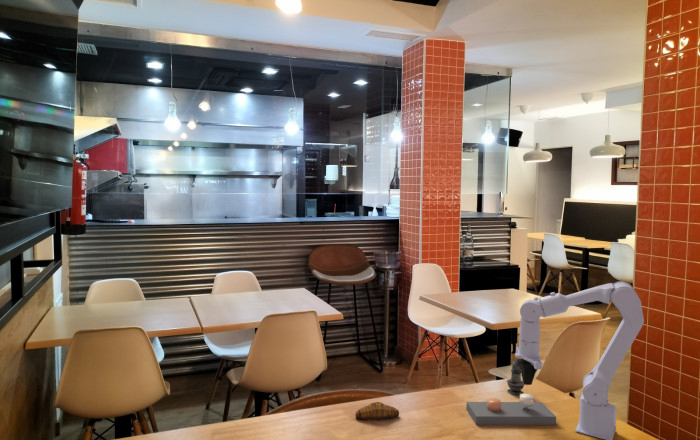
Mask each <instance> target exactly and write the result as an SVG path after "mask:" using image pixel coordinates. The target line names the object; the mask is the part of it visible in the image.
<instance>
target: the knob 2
mask: <svg viewBox="0 0 700 440" xmlns="http://www.w3.org/2000/svg"><path fill="white" fill-rule="evenodd" d="M534 399H535V397H534V395H532V394H531V393H524V394H520V396H519V402H520V404H521V405H523V406H525V410H528V407H532V406H533V405H534V402H535V400H534Z"/></svg>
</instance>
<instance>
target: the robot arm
mask: <svg viewBox="0 0 700 440" xmlns="http://www.w3.org/2000/svg"><path fill="white" fill-rule="evenodd" d="M596 301H597V302H601V303H604V304H608V305H610V301H611V302H612V304H613V305H614V306H615V308H617V310H619V313H620V314H621V317H622V320H621V322H620V323H619V325H618V327H617V328H616V330H615V332H614V334H613V336H612V337H611V339H610V341H609V343H608V345H607V346H606V348H605V349H604V351H603V354H602V355H601V357H600V359H599V360H598V362H597V364H596V365H594V367H593V368H592V370H591V371H590V372H588V373H587V374H585V375H584V377H583V378H582V387H583V388H582V394H581V395H580V399H579V400H580V401H579V417H578V423H577V425H576V427H575V429H574V431H575V432H576V433H581V434H583V435H587V436H591V437H593V438H599V439H602V440H613V439H614V436H615V433H616V431H617V405H615V404H612V403H610V402H609V400H608V398H609V389H610V387H611V385H612V381H613V377H614V376H615V374H616V373H617V370H618V368H620V365H621V364H622V362H623V360H624V358H625V357H626V355H627V353H628V351H629V350H630V348H631V347H632V345H633V342H634V341H635V340H636V337H637V336H638V335H639V332H640V331H641V329H642V327H643V325H644V323H645V318H644V313H643V307H642V300H641V299H640V297H639V295H638V294H637V292H636V291H635V288H634V287H633V286H632V284H630V283H628V282H627V281H616V282H614V283H612V282H610V283H605V284H600V285H596V286H594V287H591V288H587V289H584V290H580V291H578V292H574V293H570V294H568V295H564V294H561V292H558V293H556V292H555V291H553V292H552V291H551V292H550V293H549V295H545V296H543V297H533V299H527V300H525V301H524V302H523V303H522V304H521V306H520V309H519V314H520V323H519V338H518V339H519V340H518V341H519V343H518V345H519V346H516V351H515V353H514V356H515V357H516V358H517V362H518V364H519V366H520V370H521V380H522V381H523V383H524V384H525V385H524V386H531V385H532V384H533V381H534V379H535V375H536V373H537V371H538V370H542V369H543V362H542V361H541V357H540V338H541V337H540V334H541V325H540V320H541V318H547V317H551V316H555V315H558V314H562V313H566V312H567V311H568V309H569V307H573V306H577V305H582V304H588V303H593V302H596Z"/></svg>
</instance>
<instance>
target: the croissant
mask: <svg viewBox="0 0 700 440" xmlns="http://www.w3.org/2000/svg"><path fill="white" fill-rule="evenodd" d="M354 416H355V418H356V419H358V420H364V419H366V421H367V420H368V419H371V421H382V420H381V419H383V420H387V418H390V419H394V418H396V417H399V416H400V411H399V409H397V408H395V407H393V406H391V405H388V404H385V403H382V402H380V401H375V402H371V403H369V404H368V405H364V406H362V407H361V408H359V409H358V410H357V411H355V415H354ZM393 417H394V418H393ZM368 421H369V420H368Z"/></svg>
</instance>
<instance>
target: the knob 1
mask: <svg viewBox="0 0 700 440" xmlns="http://www.w3.org/2000/svg"><path fill="white" fill-rule="evenodd" d="M486 402H487V409H488V410H490V411H493V412H499V411H501V402H502V401H501V400H500V399H498V398H493V397H492V398H488V399H487V401H486Z"/></svg>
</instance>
